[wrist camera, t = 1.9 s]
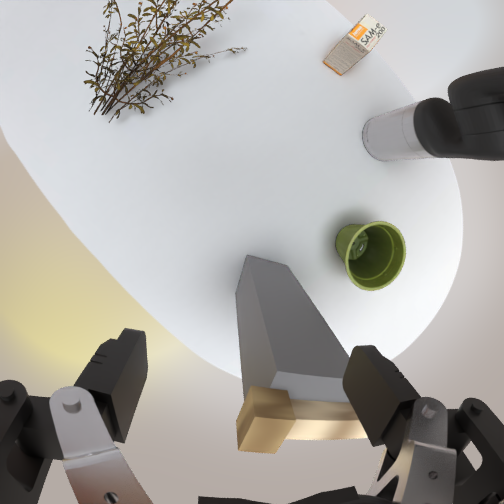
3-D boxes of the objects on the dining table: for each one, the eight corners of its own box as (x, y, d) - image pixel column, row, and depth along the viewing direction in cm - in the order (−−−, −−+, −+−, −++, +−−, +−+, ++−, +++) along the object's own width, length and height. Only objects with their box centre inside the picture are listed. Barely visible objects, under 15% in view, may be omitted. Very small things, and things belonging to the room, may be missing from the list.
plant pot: (324, 212, 51) (348, 220, 41) (377, 213, 52) (409, 222, 42) (321, 272, 54) (342, 293, 43) (373, 269, 55) (401, 288, 44)
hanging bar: (417, 394, 22) (433, 414, 19) (396, 423, 23) (409, 443, 20) (250, 385, 19) (255, 416, 16) (236, 420, 20) (238, 450, 17)
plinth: (287, 265, 53) (364, 379, 20) (274, 302, 55) (325, 438, 22) (246, 254, 52) (277, 371, 19) (235, 293, 54) (247, 434, 21)
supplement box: (341, 77, 45) (370, 53, 32) (321, 62, 44) (346, 34, 31) (359, 54, 44) (388, 29, 31) (340, 40, 43) (366, 12, 30)
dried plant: (76, 190, 30) (363, -75, 8) (12, 69, 25) (187, -130, 3) (188, 155, 56) (357, 20, 34) (118, 70, 51) (252, -56, 29)
